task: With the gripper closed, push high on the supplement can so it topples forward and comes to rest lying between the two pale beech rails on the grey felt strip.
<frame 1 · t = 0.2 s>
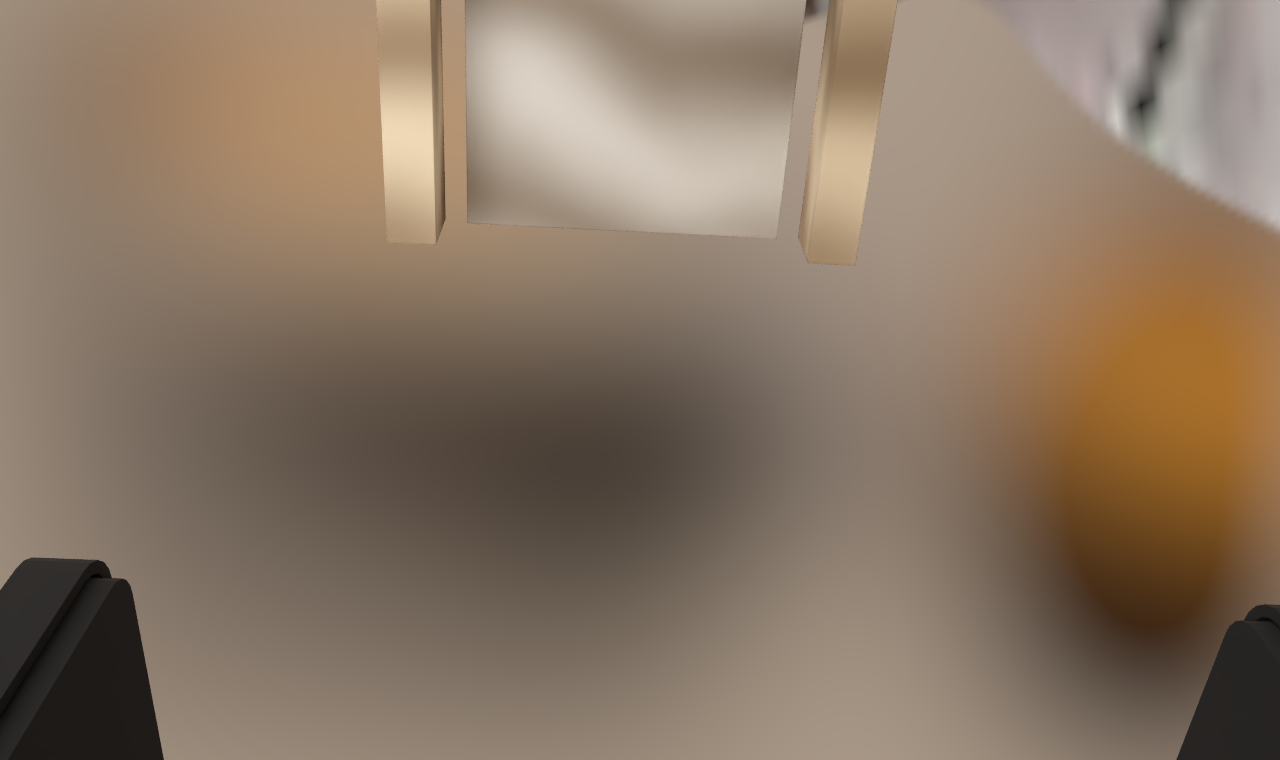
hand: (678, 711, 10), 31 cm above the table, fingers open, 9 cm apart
rail cradle: (634, 23, 37), on the table
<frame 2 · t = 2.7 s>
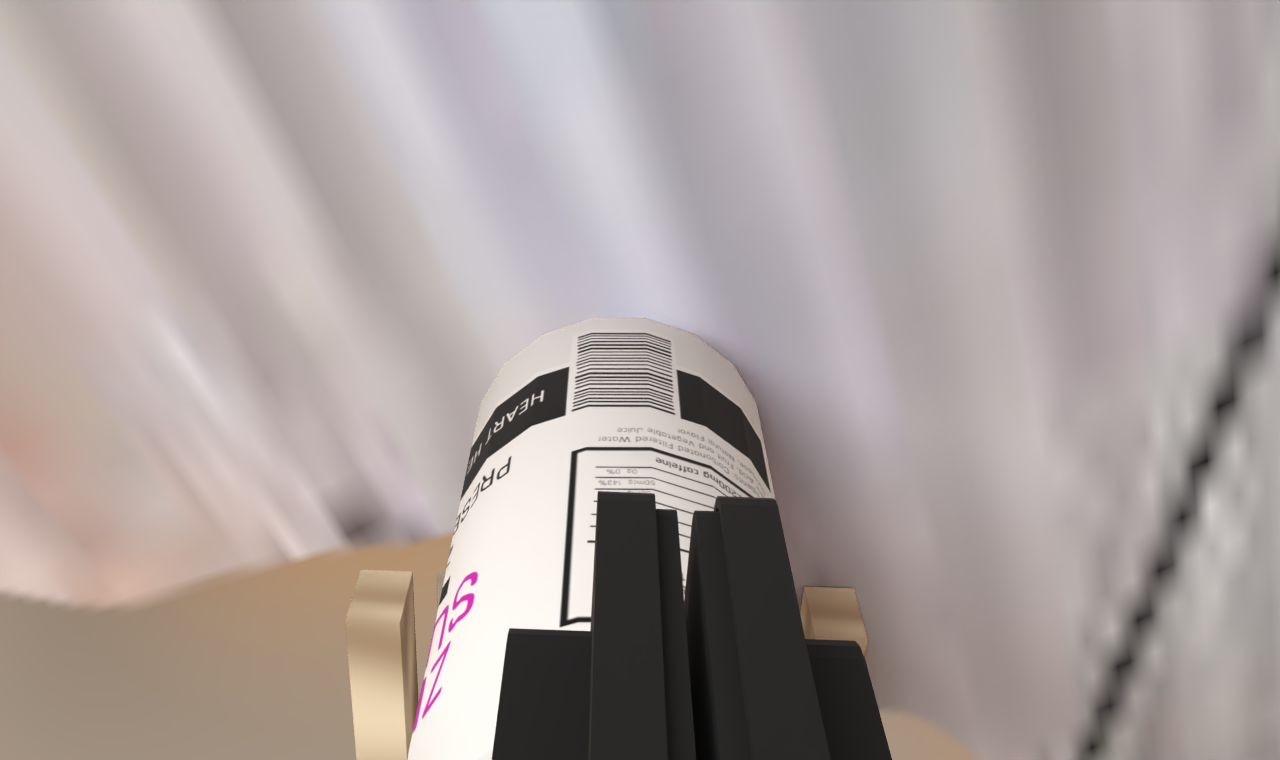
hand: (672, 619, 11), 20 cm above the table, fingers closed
rail cradle: (600, 738, 40), on the table
supplement can: (618, 427, 34), on the table
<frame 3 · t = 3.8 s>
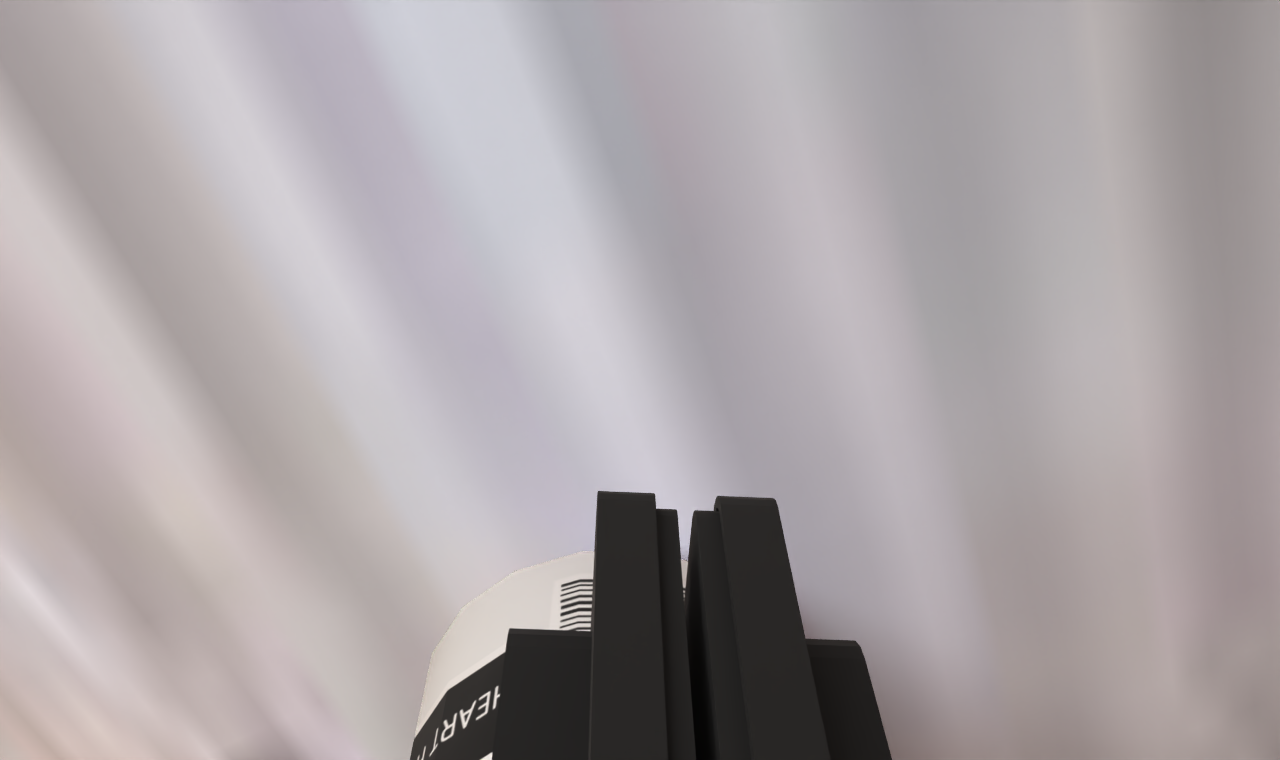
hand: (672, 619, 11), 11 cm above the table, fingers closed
supplement can: (617, 672, 26), on the table
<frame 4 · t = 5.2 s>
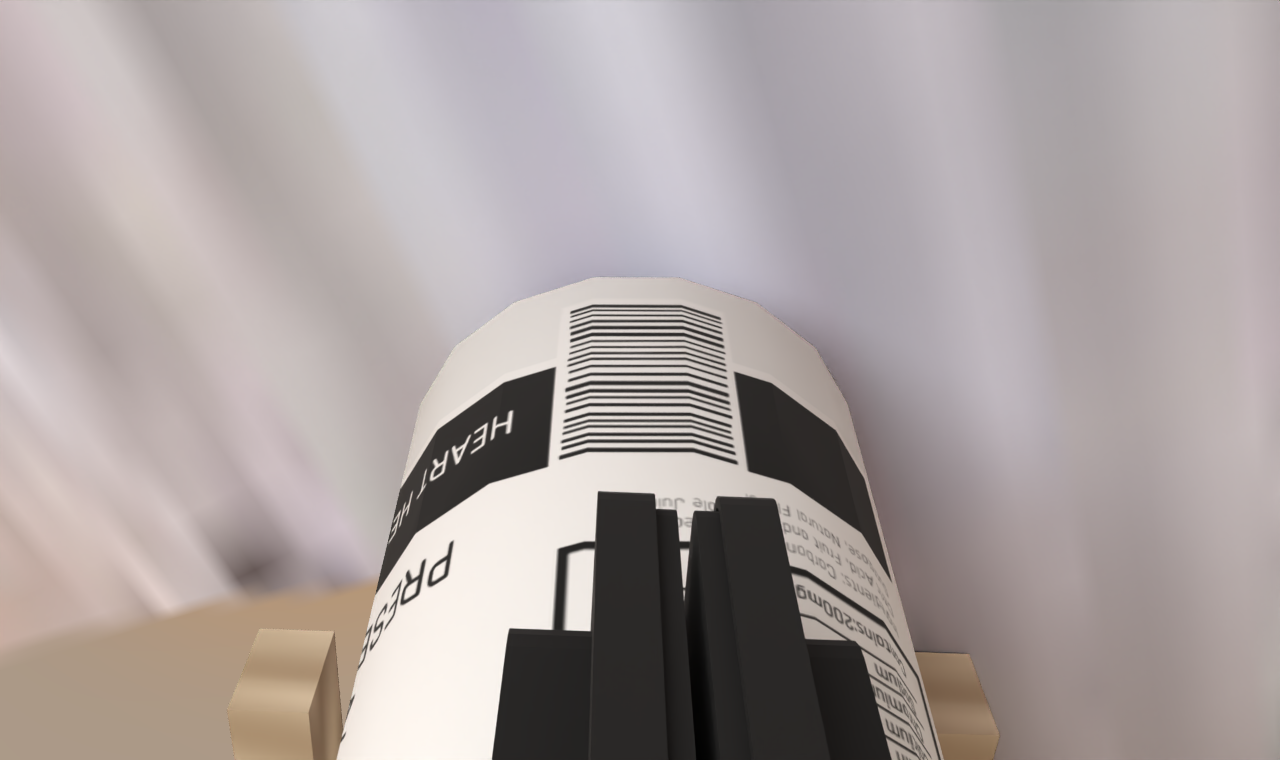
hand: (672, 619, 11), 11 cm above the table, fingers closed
supplement can: (633, 433, 23), on the table
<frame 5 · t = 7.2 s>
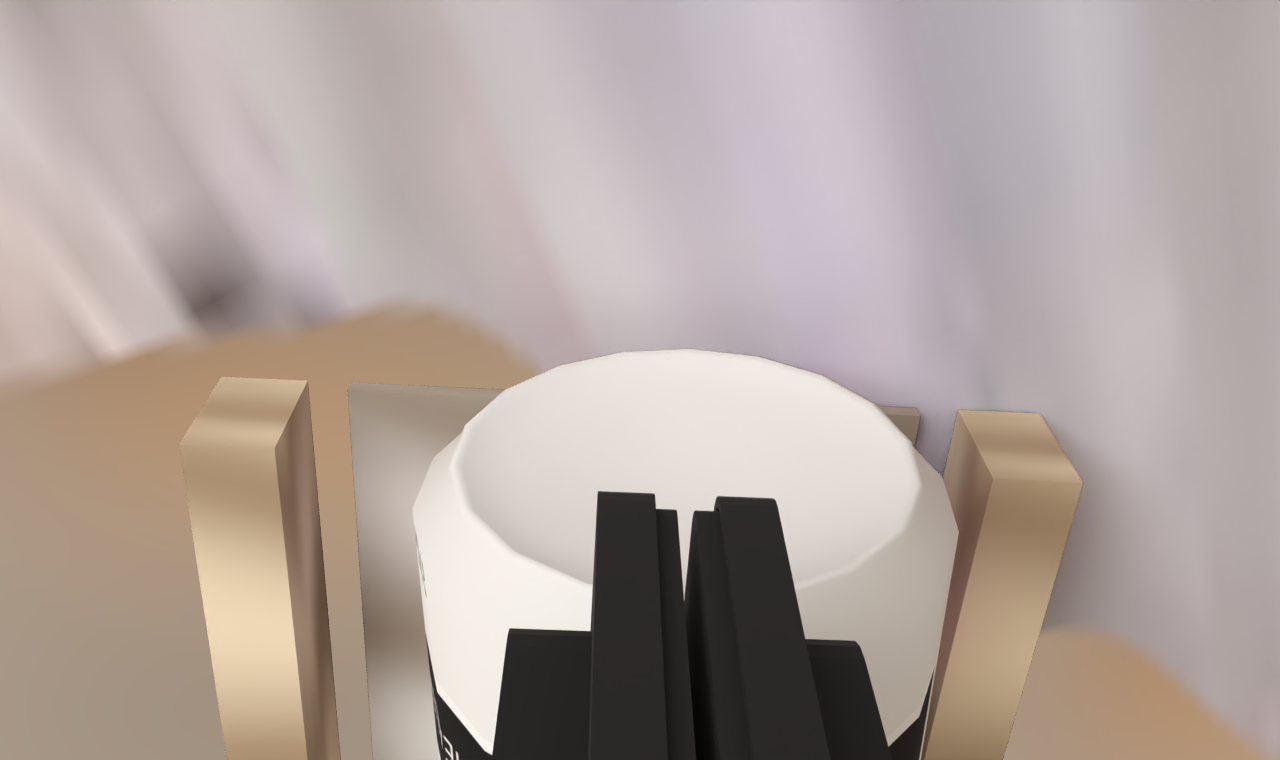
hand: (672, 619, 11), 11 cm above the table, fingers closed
rail cradle: (617, 673, 25), on the table
supplement can: (685, 441, 17), point 4 cm above the table, touching rail cradle
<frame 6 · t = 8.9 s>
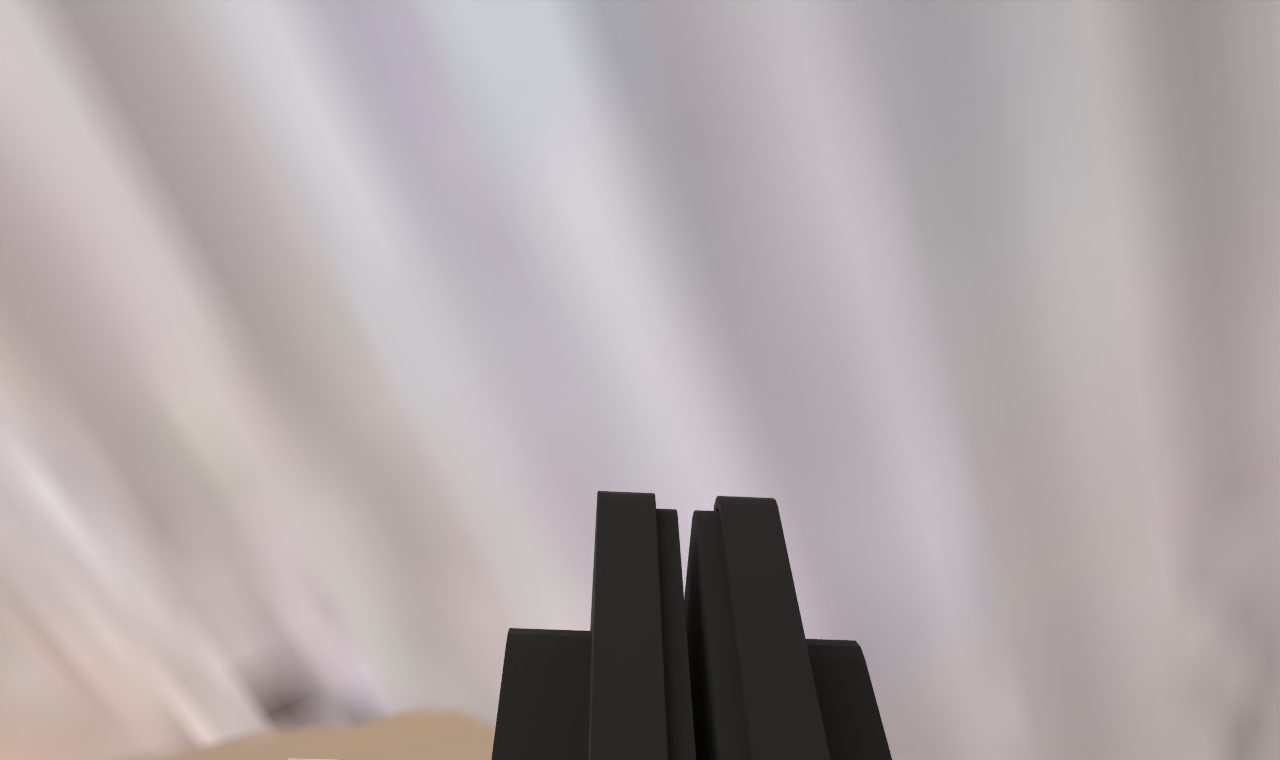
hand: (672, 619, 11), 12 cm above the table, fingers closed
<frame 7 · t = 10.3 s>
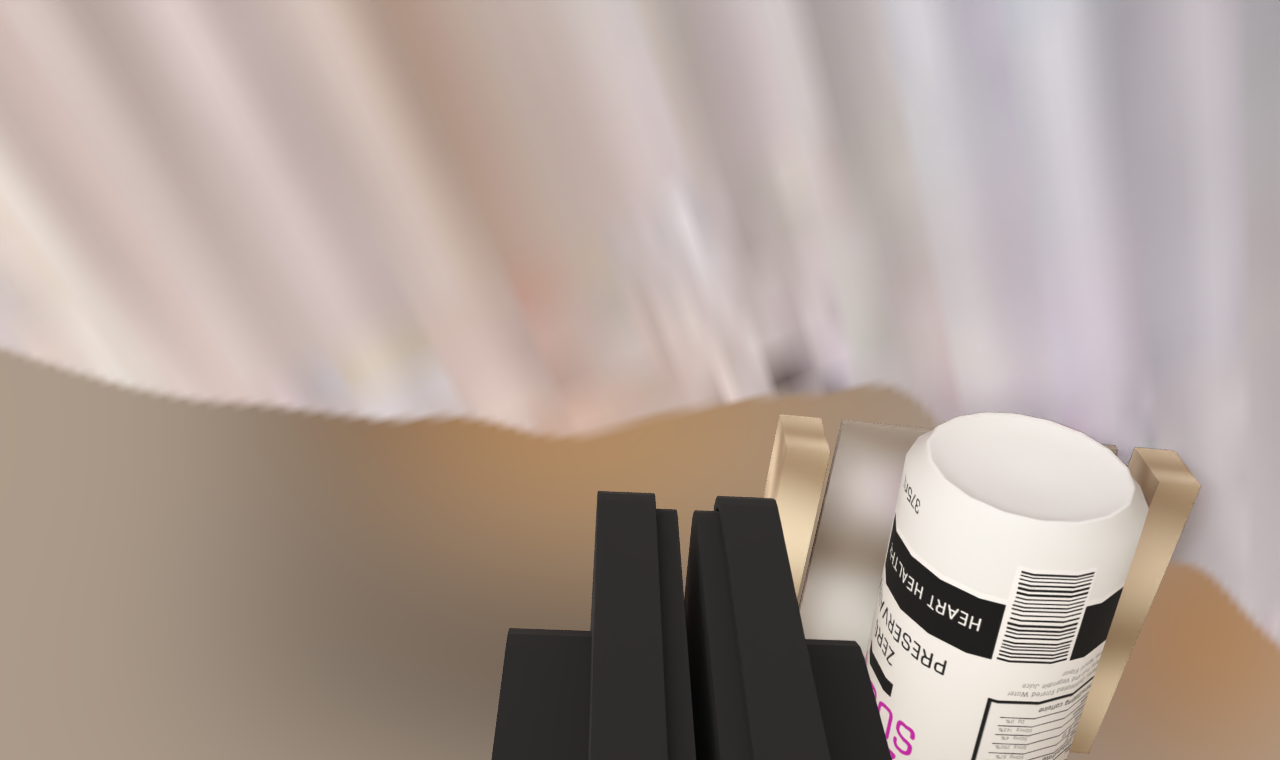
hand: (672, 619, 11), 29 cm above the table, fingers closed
rail cradle: (936, 575, 48), on the table
supplement can: (1030, 458, 40), point 4 cm above the table, touching rail cradle
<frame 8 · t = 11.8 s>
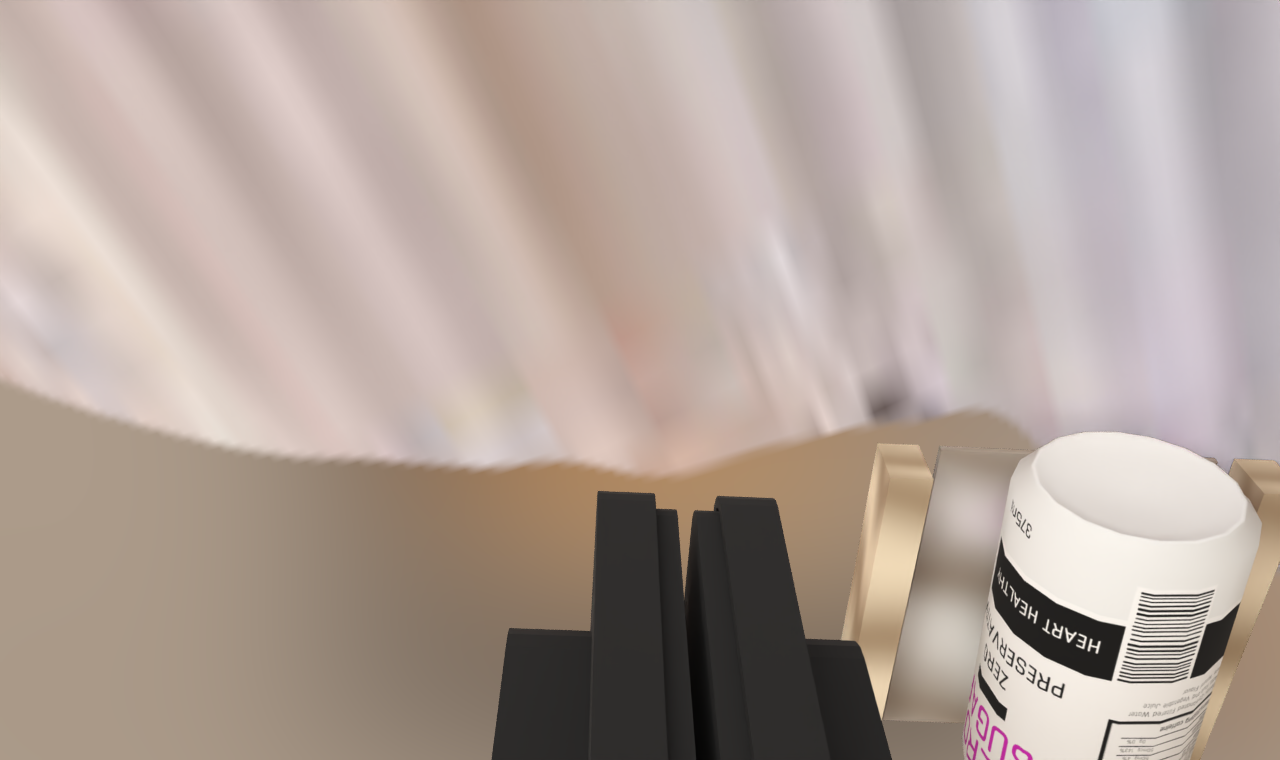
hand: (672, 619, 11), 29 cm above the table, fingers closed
rail cradle: (1037, 594, 48), on the table
supplement can: (1138, 477, 40), point 4 cm above the table, touching rail cradle
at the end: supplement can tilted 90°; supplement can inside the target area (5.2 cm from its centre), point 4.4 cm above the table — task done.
